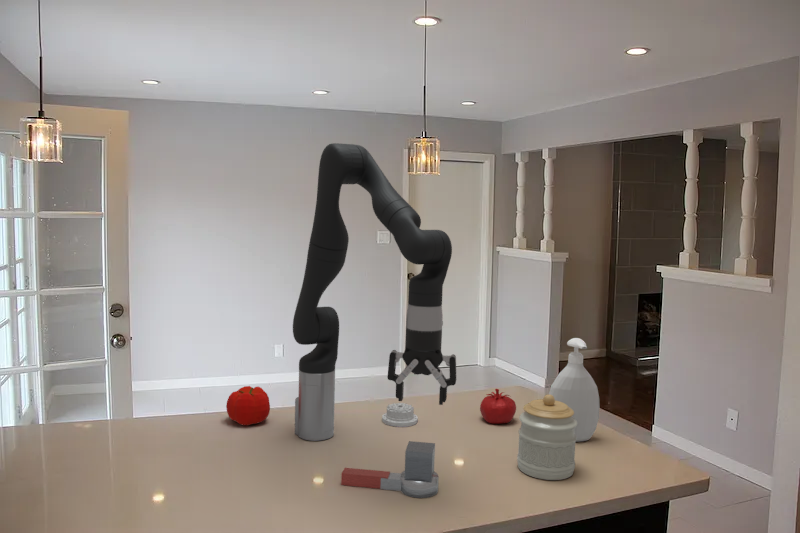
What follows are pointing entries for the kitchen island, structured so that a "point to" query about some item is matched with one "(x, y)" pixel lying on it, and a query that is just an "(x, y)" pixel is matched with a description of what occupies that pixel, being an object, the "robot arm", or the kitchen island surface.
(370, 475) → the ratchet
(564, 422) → the jar
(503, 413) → the pomegranate
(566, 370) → the soap bottle
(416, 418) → the mechanical component
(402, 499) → the kitchen island surface
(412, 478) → the brushed metal cube
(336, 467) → the kitchen island surface
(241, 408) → the tomato
